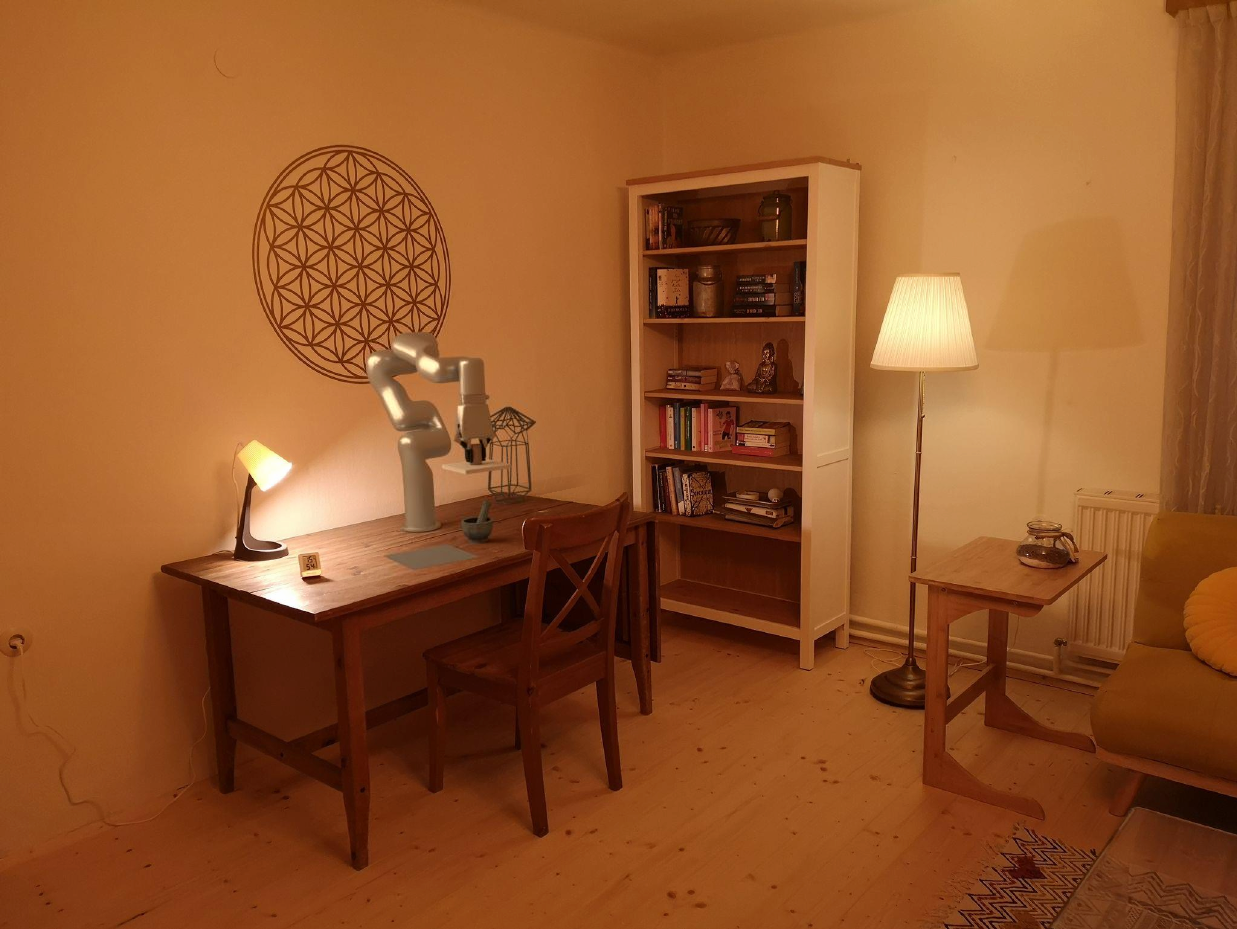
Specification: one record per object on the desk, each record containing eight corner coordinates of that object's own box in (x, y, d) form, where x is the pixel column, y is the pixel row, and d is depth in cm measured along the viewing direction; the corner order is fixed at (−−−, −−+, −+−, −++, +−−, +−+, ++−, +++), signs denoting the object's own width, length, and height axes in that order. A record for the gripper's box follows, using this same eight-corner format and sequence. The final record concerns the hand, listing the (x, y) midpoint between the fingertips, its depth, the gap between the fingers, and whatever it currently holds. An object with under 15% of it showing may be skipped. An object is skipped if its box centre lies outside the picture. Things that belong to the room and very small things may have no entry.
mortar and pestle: (480, 547, 282) (478, 507, 281) (455, 544, 287) (453, 505, 285) (503, 539, 292) (501, 500, 290) (479, 536, 297) (477, 498, 295)
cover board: (442, 468, 287) (440, 444, 286) (486, 462, 296) (485, 439, 295) (465, 474, 276) (464, 449, 274) (511, 468, 284) (509, 444, 283)
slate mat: (383, 557, 274) (383, 555, 273) (446, 546, 285) (446, 544, 285) (413, 571, 258) (413, 569, 258) (479, 559, 269) (479, 556, 269)
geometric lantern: (515, 496, 361) (513, 403, 355) (539, 502, 349) (538, 407, 343) (479, 501, 351) (477, 406, 345) (503, 508, 339) (501, 410, 333)
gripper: (491, 397, 291) (494, 457, 294) (441, 401, 281) (444, 463, 284) (503, 398, 285) (506, 459, 288) (453, 403, 275) (456, 466, 278)
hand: (475, 460), depth 286 cm, fingers closed on cover board, 3 cm apart
